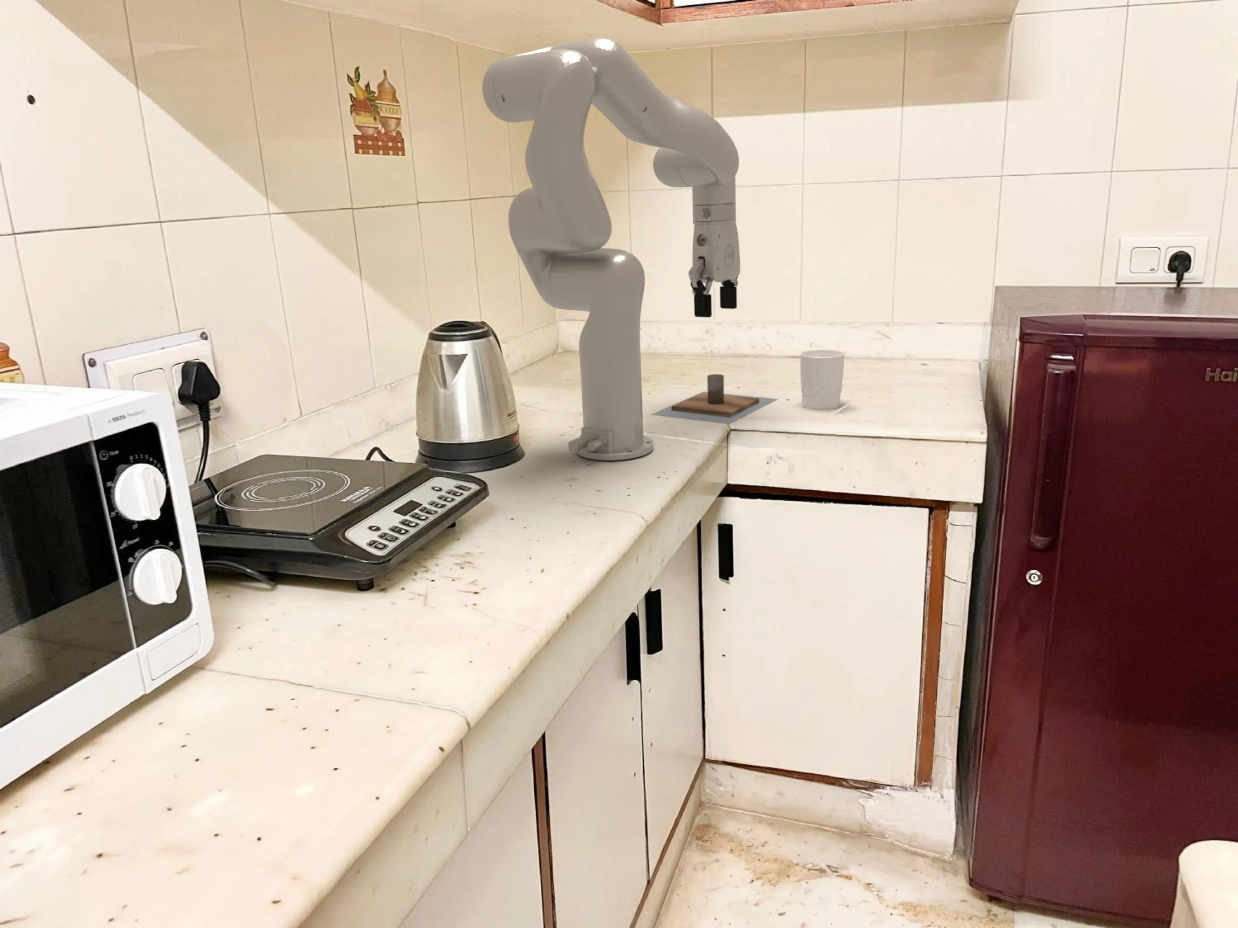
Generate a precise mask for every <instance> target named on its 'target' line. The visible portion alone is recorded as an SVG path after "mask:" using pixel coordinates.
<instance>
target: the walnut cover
mask: <svg viewBox="0 0 1238 928" xmlns="http://www.w3.org/2000/svg"><path fill="white" fill-rule="evenodd" d="M724 377H725V375H724V374H720V373H719V374H717V373H716V374H708V375H707V378H706V379H707V380H706V381H707V392H708V393H701V392H700V393H701V394H699V393H698V394H699V395H697V394H695V395H696V396H695V395H693V396H694V397H692V396H691V397H692V398H690V397H689V398H690V399H688V398H686V399H687V400H685V399H684V400H685V401H683V400H682V401H683V402H681V401H679V402H680V403H678V402H677V403H678V404H676V403H675V404H676V405H674V404H672V405H673V406H672V411H680V412H689V413H697V414H706V415H715V416H723V417H732V416H734V415H736V414H738V413H740V412H742V411H744V410H746V409H748V408H750V407H752V406H754V405H756V404H757V403H759V398H750V397H740V396H730V395H724V394H725V392H724V391H725V389H724V387H725V378H724Z"/></svg>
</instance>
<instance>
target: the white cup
mask: <svg viewBox="0 0 1238 928" xmlns="http://www.w3.org/2000/svg"><path fill="white" fill-rule="evenodd" d="M845 354H846V353H845V352H843V351H841V350H837V349H809V350H804V351H802V352H800V353H799V358H800V359H799V361H800V362H799V363H800V370H799V371H800V388H801V394H802V395H801V400H802V401H801V404H802V407H804V408H807V409H811V410H821V411H822V410H833V409H836V408H839V407H840V405H841V404H840V403H841V394H842V387H843V378H844V367H845Z"/></svg>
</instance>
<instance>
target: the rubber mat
mask: <svg viewBox="0 0 1238 928" xmlns="http://www.w3.org/2000/svg"><path fill="white" fill-rule="evenodd" d="M701 393H708V391H702V392H700V393H697V394H695V395H692V396H690V397H688V398H685V399H683V400H681V401H678V402H677V403H673V404H672V405H669V406H667V407H665V408H663V409H660V410H658V411H656V412H653V413H651V416H659V417H668V418H675V419H676V418H677V419H685V420H692V421H700V422H702V421H703V422H709V423H718V424H727V425H730V424H733V423H734V422H736V421H739V420H740V419H741V420H742V419H743V418H744V417H747V416H749V415H750V414H752V413H754V412H757V411H758V410H760V409H762V408H764V407H766V406H768V405H770V404H771V403H774V402H776V401H777V400H779V399H778V398H770V397H761V396H752V395H751V396H750V395H742V394H741V395H740V394H731V393H724V395H730V396H740V397H750V398H759V403H757V404H756V405H754V406H752V407H750V408H748V409H746V410H744V411H742V412H740V413H738V414H736V415H734V416H732V417H723V416H715V415H706V414H697V413H689V412H680V411H672V406H673V405H676V404H678V403H680V402H683V401H685V400H687V399H690V398H692V397H694V396H696V395H699V394H701Z"/></svg>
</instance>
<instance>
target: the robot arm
mask: <svg viewBox="0 0 1238 928" xmlns="http://www.w3.org/2000/svg"><path fill="white" fill-rule="evenodd" d="M481 85H482V87H481V91H482V98H483V100H484V103H485V105H486V107H487V109H488V110H489V111H490V112H491V114H492V115H493V116H494V117H496V118H497V119H499V120H500V121H504V122H506V123H520V122H522V123H523V122H532V121H533V124H532V128H531V131H530V134H529V137H528V140H527V145H526V148H525V155H524V157H525V159H524V162H525V163H524V164H525V169H526V174H527V176H528V178H529V182H530V184H531V186H532V187H530V188H526V189H524V190H522V191H520V192H519V193H518V194H517V195H516V196H515V197H514V198H513V200H512V202H511V204H510V207H509V210H508V218H507V219H508V220H507V221H508V231H509V235H510V238H511V241H512V243H513V245H514V248H515V250H516V252H517V254H518V257H519V258H520V259H521V262H522V264H523V266H524V268H525V270H526V272H527V274H528V275H529V278H530V279H531V282H532V283H533V285H534V287H535V290H536V291H537V292H538V294H539V296H540V297H541V299H542V300H543V301H544V302H545V303H546V304H548V305H549V306H551V307H553V308H554V309H557V310H558V309H560V310H565V311H566V310H567V311H578V312H579V311H580V312H588V313H589V314H588V317H587V319H586V321H585V323H584V325H583V328H582V330H581V333H580V335H579V340H578V353H579V366H580V367H579V369H580V370H579V371H580V386H581V387H580V388H581V404H582V406H581V407H582V408H581V409H582V422H583V423H582V425H583V426H582V427H581V428H580V432H581V434H580V436H579V437H576V438H574V439H572V440H570V441H568V445H567V447H568V450H569V451H570V452H571V453H576V455H578V456H580V457H582V458H584V459H589V460H594V461H624V460H630V459H635V458H639V457H642V456H646V455H648V454H649V453H651V452H652V451H653V450H654V441H653V439H652V438H651V437H648V436H647V435H644V417H643V415H644V414H643V413H644V412H643V387H642V385H643V382H642V380H643V379H642V359H641V315H642V306H643V305H642V304H643V298H644V292H645V286H646V285H645V284H646V282H645V280H646V277H645V276H646V275H645V269H644V267H643V265H642V263H641V261H640V260H639V259H638V258H637V256H635V255H634V254H632V253H630V252H629V251H627V250H622V249H619V248H611V247H610V248H607V247H604V246H605V245H607V243H608V242H609V240H610V239H611V235H612V230H613V227H612V226H613V225H612V219H611V215H610V213H609V210H608V208H607V204H606V202H605V199H604V196H603V194H602V193H601V191H600V190H601V189H600V188H599V186H598V183H597V181H596V178H595V176H594V174H593V171H592V168H591V166H590V162H589V161H588V157H587V155H586V151H585V150H586V149H585V146H584V145H585V143H584V141H585V129H586V124H587V120H588V116H589V111H590V108H591V105H593V106H594V107H595V109H597V110H598V111H599V112H600V113H601V114H602V115H603V116H604V117H605V118H606V119H607V120H608V121H609V122H611V124H612V125H613V126H614V127H615V128H616V129H617V130H618V132H620V133H621V134H622V135H623V136H624V137H625V138H627V139H628V140H630V141H633V142H635V143H640V144H643V145H646V146H651V147H655V148H658V149H657V151H656V152H655V153H654V157H653V159H652V160H653V161H652V168H653V173H654V175H655V177H656V178H657V180H659V182H660V183H662V184H663V185H664V186H667V187H671V188H691V190H692V191H691V192H692V193H691V194H692V195H691V197H692V225H693V227H694V228H693V235H692V236H693V237H692V239H693V240H692V255H691V256H692V266H691V267H690V269H689V270H688V277H689V280H690V283H689V284H690V286H691V288H692V291H691V292H692V295H693V310H694V311H693V313H694V317H695V318H711V317H712V315H713V314H712V312H713V310H712V308H713V307H712V306H713V305H712V303H713V302H712V294H710V293H711V292H710V291H711V288H712V286H713V282H715V283H720V284H721V286H719V308H721V309H726V310H727V309H729V310H732V309H733V310H734V309H735V310H736V309H737V308H738V298H737V297H738V290H737V287H738V284H739V281H738V278H739V276H740V274H741V257H740V256H741V255H740V254H741V253H740V241H739V232H738V227H737V207H736V206H737V205H736V203H737V200H736V199H737V198H736V197H737V196H736V186H737V185H736V175H737V173H738V171H739V167H740V157H739V152H738V149H737V146H736V145H735V144H736V143H734V141H733V139H732V138H731V136H730V135H729V133H728V132H727V131H726V129H724V127H723V126H722V125H721V124H720V122H719V121H718V120H717V119H715V117H713V116H712V115H710V114H708V113H706V112H704V111H703V110H701V109H699V108H697V107H695V106H692V105H690V104H688V103H687V102H684V101H682V100H680V99H678V98H675V97H673V96H670V95H668V94H666V93H664V92H663V91H662V90H661V89H660V88H659V87H658V86H657V84H655V82H654V81H653V80H652V79H651V78H650V77H649V76H648V75H647V74H646V72H645V71H644V70H643V69H642V68H641V67H640V65H639V64H638V63H637V62H636V60H635V59H634V58H633V57H632V56H631V54H629V52H627V50H626V49H625V48H624V47H623V46H622V45H621V44H620V43H618V42H617V41H615V40H614V39H613V38H612V39H611V38H608V37H593V38H592V37H591V38H586V39H580V40H573V41H569V42H562V43H556V44H554V45H549V46H546V47H542V48H539V49H535V50H531V51H527V52H522V53H518V54H514V55H509V56H505V57H502V58H501V57H500V58H499V59H496V60H495V61H493V62H492V63H491V64H490V65H489V66H488V68H487V69H486V71H485V72H484V76H483V79H482V84H481ZM603 247H604V248H603ZM704 284H705V285H704Z"/></svg>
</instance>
